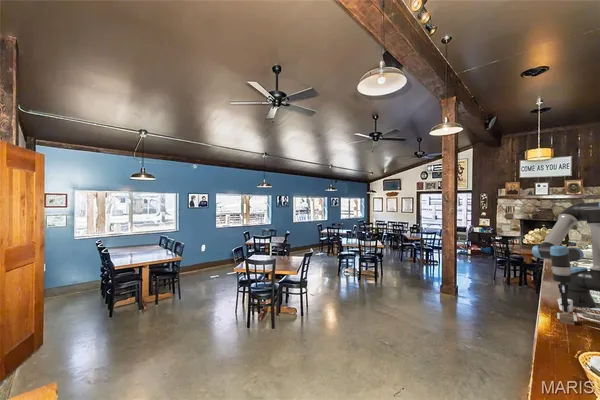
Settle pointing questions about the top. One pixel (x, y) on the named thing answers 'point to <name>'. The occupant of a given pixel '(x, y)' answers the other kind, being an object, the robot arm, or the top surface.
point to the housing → (566, 319)
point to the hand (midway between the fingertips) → (566, 317)
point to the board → (562, 313)
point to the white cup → (568, 303)
